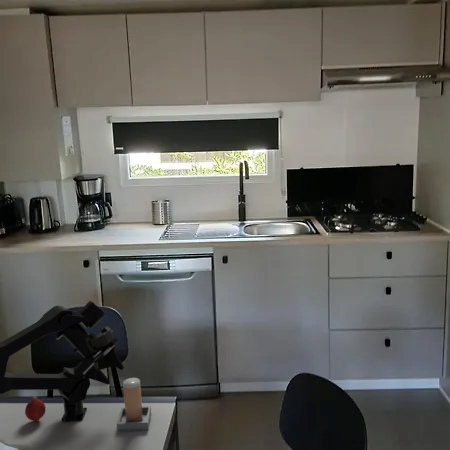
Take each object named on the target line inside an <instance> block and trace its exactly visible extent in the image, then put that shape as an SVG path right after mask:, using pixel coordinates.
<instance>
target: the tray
mask: <svg viewBox="0 0 450 450" xmlns="http://www.w3.org/2000/svg"><path fill="white" fill-rule="evenodd" d="M142 414H143V420H142V422H126V414H125V407H121V408H120V412H119V415H118V419H117V422H116V431H117V433H120V432H121V433H122V432H123V433H125V432H137V431H138V432H141V431H149V428H150V423H151V416H152V406H151V405H148V406H147V405H145V406H142Z"/></svg>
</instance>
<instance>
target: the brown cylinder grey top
mask: <svg viewBox="0 0 450 450" xmlns="http://www.w3.org/2000/svg"><path fill="white" fill-rule="evenodd" d="M122 387H123V389H122V390H123V399H124V400H123V401H124V408H125V414H126V422H142V420H143V414H142V407H143V404H142V401H143V400H142V388H141V379H139V378H137V377H129V378H126V379H124V380H123V382H122Z"/></svg>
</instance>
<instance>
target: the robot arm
mask: <svg viewBox="0 0 450 450" xmlns="http://www.w3.org/2000/svg"><path fill="white" fill-rule="evenodd" d="M104 317H106V314H105V312H104V311H103V310H102V309H101V308H100V307H98V306H97V305H96V304H95V303H94V302H93V301H92V300H89V301H88V302H87V303H86V304H85V306H83V307H82V308H81V309H80V310H79V311H78V312H77V311H75V310H71V309H67V308H66V307H64V306H62V305H55V306H53V307H50V309H49V310H47V311H46V312H45V313H43V315H42V316H41V317H40V319H38V320H37V321H36V322H35V323H33V324H30V325H29V326H27V327H25V328H24V329H22V330H21V331H18V332H17V333H15V334H14V335H10V336H9V337H8V338H6V339H5V340H3V341H1V342H0V395H3V394H6V393H8V392H11V391H15V390H17V391H24V390H26V391H30V390H31V391H34V390H35V391H39V390H41V391H42V390H45V391H46V390H49V391H50V390H51V391H53V390H57V391H58V393H59V395H60V396H61V397H63V398H62V401H63V415H62V417H61V422H72V421H82V420H84V418H85V415H86V412H87V409H88V407H84V402H83V401H84V400H86V398H87V393H88V390H89V388H90V386H91V380H94V381H96V382H100V383H102V384H105V385H109V384H110V383H111V380H110V379H109V377H107V375H106V374H105V373H104V372H103V371H102V370H101V369H100V366H99V362H98V361H96V360H97V359H98V358H100V356H103V357H102V359H103V360H105V362H108V363H109V364H111V365H112V366H114V367H115V368H116V369H118V370H120V371H122V370H124V368H125V367H124V365H123V363H122V361H121V359H120V357H119V353H118V345H119V344H118V342H119V340H118V338H116V337H115V336H113V335H114V332H115V331H114V330H112V328H110V327H109V326H104V327H103V328H101V330H100V331H101V332H100V333H99V334H96V333H94V332H91V333H89V332H88V331H87V330H86V329H90V330H91V329H93V328H94V327H95V326H96V325H97V324H98V323H99V322H100V321H101V320H102V319H103V318H104ZM83 327H84V328H83ZM54 333H55V334H56V336H55V337H56V338H55V339H56V340H60V339H61V338H62V337H63V338H65V339H66V341H67V342H69V343H70V345H71V346H72V347H73V348H74V349H73V352H74V353H75V354H76V353H77V352H78V353H79V354H80V355H81V356H82V357H83V359H82V360H81V361H80V362H79V363H78V364H77V365H76V366H75V367H71V368H70V367H63V369H62V370H63V371H62V372H59V373H12V372H8V371H7V367H8V362H9V359H10V357H11V356H13V355H14V354H17V353H18V352H19V351H21V350H23V349H25V348H27V347H29V346H30V345H32V344H33V343H35V342H36V341H38V340H40V339H41V338H43V337H45V336H47V335H50V334H54Z"/></svg>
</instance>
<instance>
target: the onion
mask: <svg viewBox="0 0 450 450" xmlns="http://www.w3.org/2000/svg"><path fill="white" fill-rule="evenodd" d="M46 411H47V409H46V404H45V402H43V401H42V400H40V399H39V398H38V397H37V396H33V398H32V399H31V400H30V401H28V403H27V404H26V406H25V409H24V415H25V417H26V418H27V419H28V420H29V421H33V422H39V421H40V420H41V419H42V417H44V416H45V414H46Z"/></svg>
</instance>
